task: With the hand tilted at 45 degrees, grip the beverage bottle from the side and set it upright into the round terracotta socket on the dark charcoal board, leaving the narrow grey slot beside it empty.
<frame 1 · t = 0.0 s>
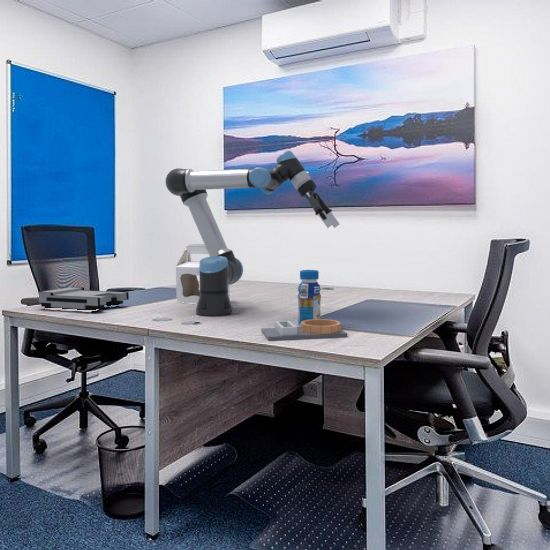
hand: (334, 226, 208), 36 cm above the table, tool tilted 35°, fingers open, 13 cm apart
socket board: (303, 334, 170), on the table
office tray: (84, 309, 229), on the table
beverage bottle: (309, 325, 186), on the table
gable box: (203, 302, 245), on the table
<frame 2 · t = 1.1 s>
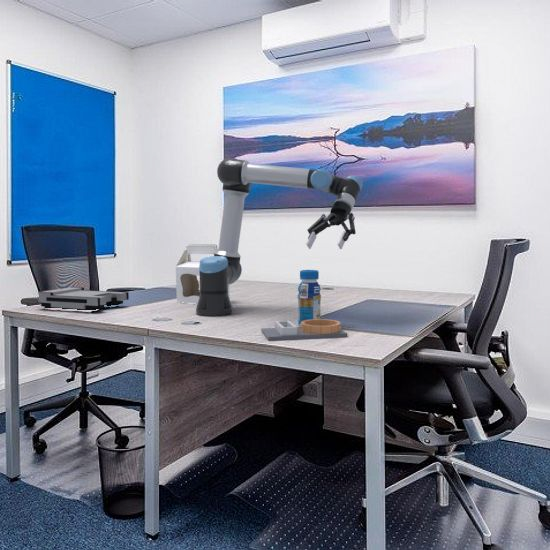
hand: (323, 246, 192), 28 cm above the table, tool tilted 45°, fingers open, 13 cm apart
nothing on the table moved.
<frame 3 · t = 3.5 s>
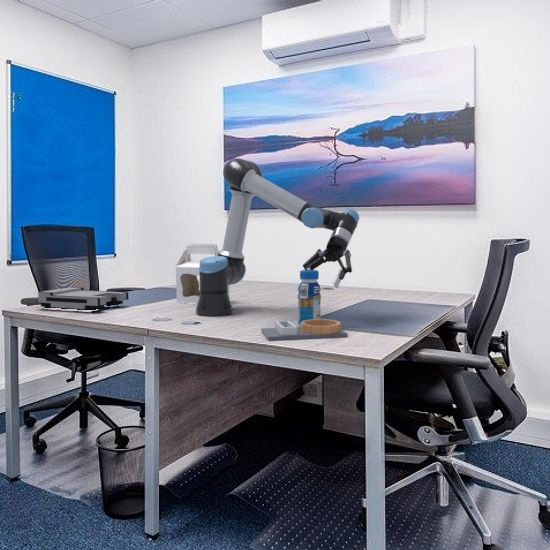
hand: (319, 284, 188), 15 cm above the table, tool tilted 45°, fingers open, 13 cm apart
nothing on the table moved.
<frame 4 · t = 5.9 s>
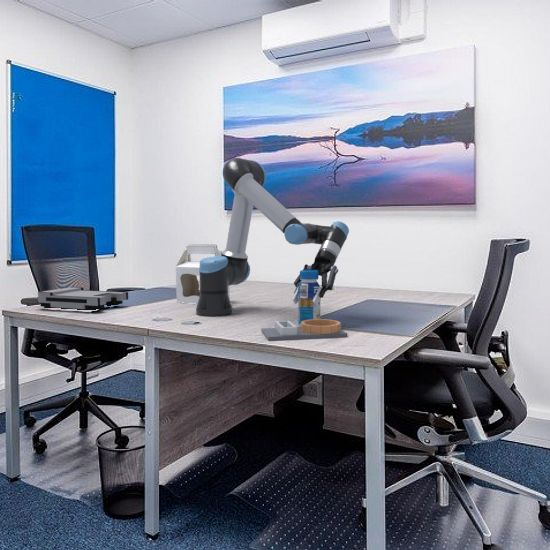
hand: (304, 302, 182), 9 cm above the table, tool tilted 45°, fingers closed on beverage bottle, 8 cm apart
beverage bottle: (309, 325, 186), on the table, touching gripper
everything else where it was.
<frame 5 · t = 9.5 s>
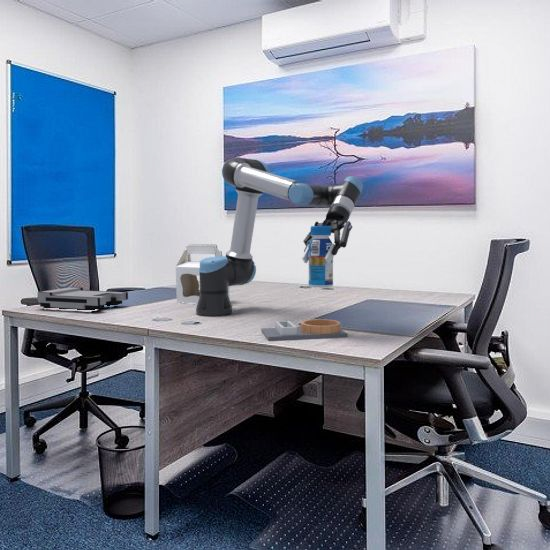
hand: (315, 260, 166), 25 cm above the table, tool tilted 45°, fingers closed on beverage bottle, 8 cm apart
beverage bottle: (320, 286, 170), point 16 cm above the table, touching gripper
everything else where it was.
when the fingers open (11 cm above the table, at t = 13.2 s): beverage bottle moves 1 cm, resting on socket board.
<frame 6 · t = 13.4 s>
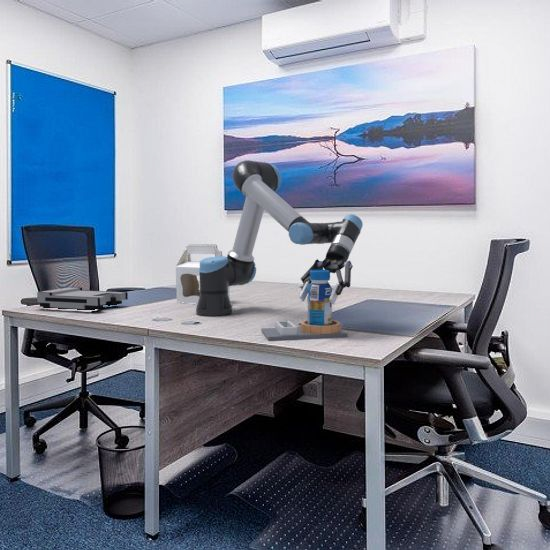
hand: (316, 300, 168), 12 cm above the table, tool tilted 45°, fingers open, 11 cm apart
beverage bottle: (319, 330, 171), point 1 cm above the table, touching socket board
everything else where it was.
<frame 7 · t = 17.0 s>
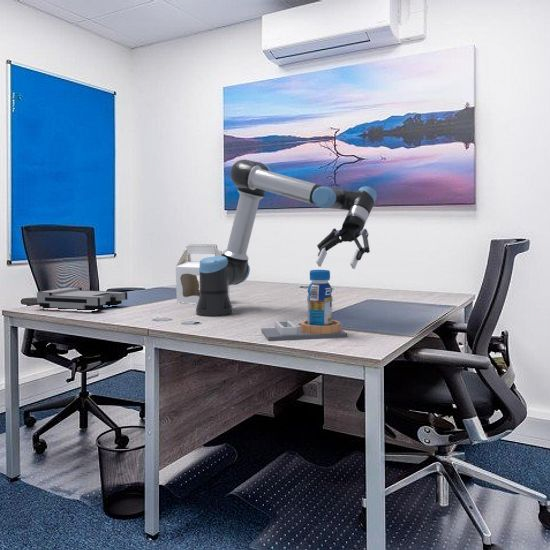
hand: (334, 265, 178), 22 cm above the table, tool tilted 45°, fingers open, 13 cm apart
nothing on the table moved.
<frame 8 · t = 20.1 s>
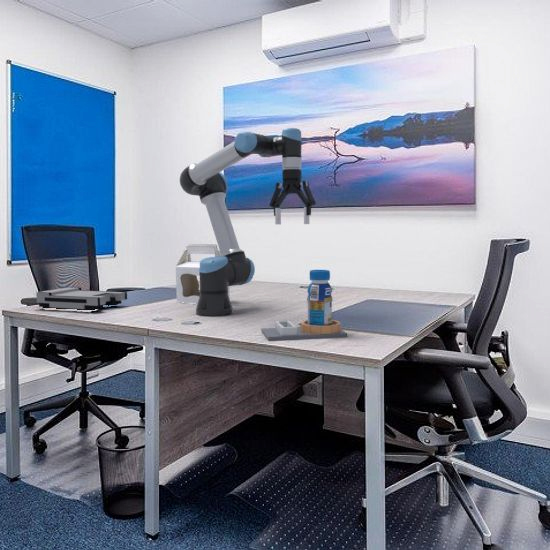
hand: (292, 224, 200), 37 cm above the table, tool pointing down, fingers open, 13 cm apart
nothing on the table moved.
at the end: beverage bottle 0.4 cm from the target spot on the socket board, point 1.0 cm above the socket board's base; beverage bottle tilted 0°; the gripper is holding nothing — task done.
